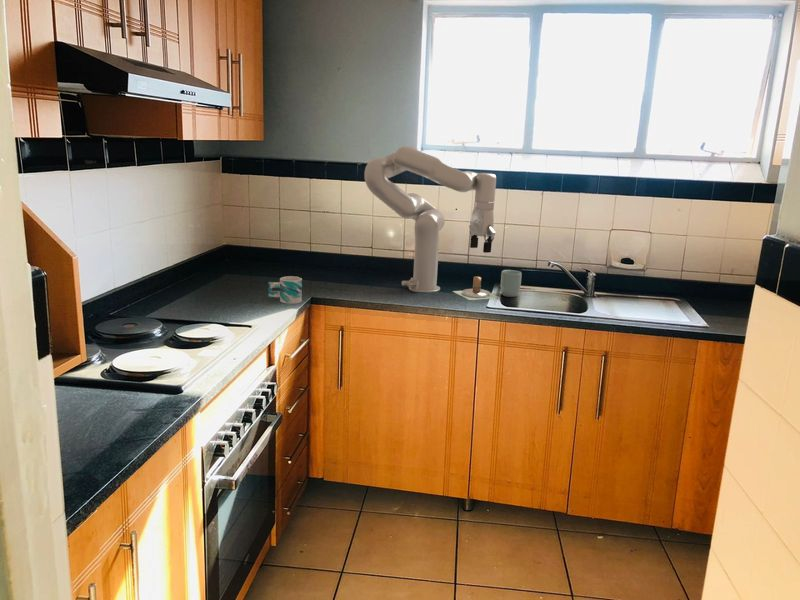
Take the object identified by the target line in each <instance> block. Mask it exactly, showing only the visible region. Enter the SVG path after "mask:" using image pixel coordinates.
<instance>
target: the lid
mask: <svg viewBox="0 0 800 600" xmlns="http://www.w3.org/2000/svg"><path fill="white" fill-rule="evenodd" d="M481 287H482V276H478V275H477V276H473V282H472V288H466V289H465V288H464V289H463V290H461V291H462V294H463V295H465V296H468V297H473V298H486V297H489V296H490V293H491V292H490V291H489V290H487V289H486V290H485V289H483V290H482V288H481Z"/></svg>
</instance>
